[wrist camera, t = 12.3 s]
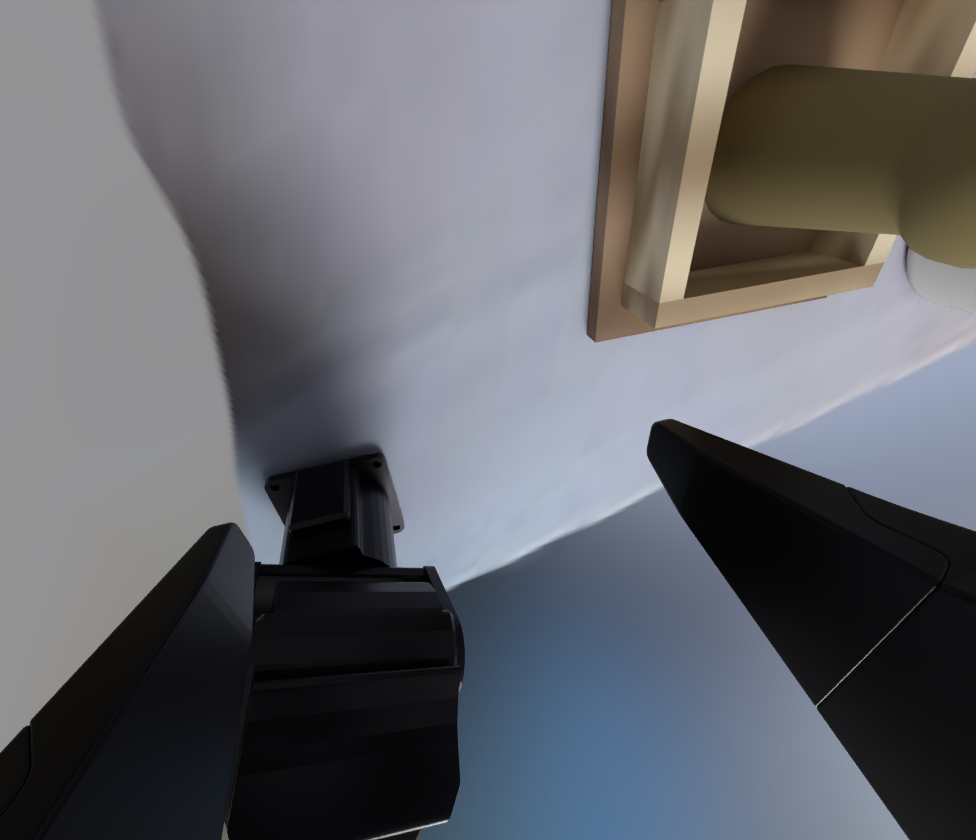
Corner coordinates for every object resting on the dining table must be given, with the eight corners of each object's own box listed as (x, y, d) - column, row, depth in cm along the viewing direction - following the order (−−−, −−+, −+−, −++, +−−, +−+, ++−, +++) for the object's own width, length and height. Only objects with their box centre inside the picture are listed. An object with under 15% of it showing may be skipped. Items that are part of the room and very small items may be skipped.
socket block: (811, 292, 26) (876, 315, 23) (586, 334, 23) (624, 368, 20) (971, -113, 16) (1121, -170, 13) (620, -116, 14) (702, -187, 11)
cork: (706, 87, 17) (1083, 50, 8) (838, 45, 17) (1328, -31, 9) (695, 240, 21) (946, 326, 12) (804, 202, 21) (1123, 259, 12)
